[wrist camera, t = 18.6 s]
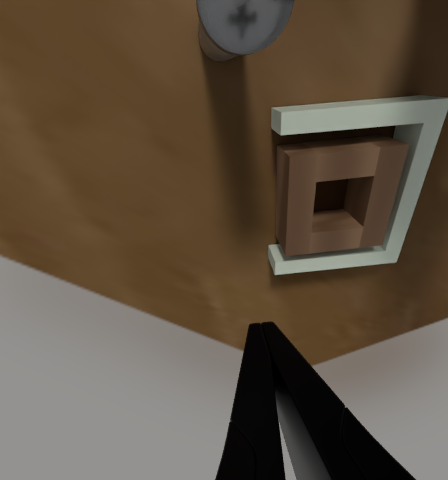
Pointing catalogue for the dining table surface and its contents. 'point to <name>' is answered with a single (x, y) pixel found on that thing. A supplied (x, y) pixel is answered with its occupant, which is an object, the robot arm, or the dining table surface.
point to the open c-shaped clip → (412, 177)
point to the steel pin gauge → (240, 25)
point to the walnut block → (356, 199)
